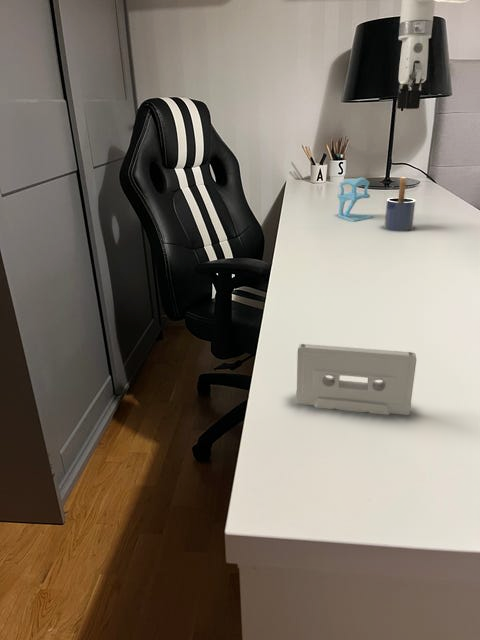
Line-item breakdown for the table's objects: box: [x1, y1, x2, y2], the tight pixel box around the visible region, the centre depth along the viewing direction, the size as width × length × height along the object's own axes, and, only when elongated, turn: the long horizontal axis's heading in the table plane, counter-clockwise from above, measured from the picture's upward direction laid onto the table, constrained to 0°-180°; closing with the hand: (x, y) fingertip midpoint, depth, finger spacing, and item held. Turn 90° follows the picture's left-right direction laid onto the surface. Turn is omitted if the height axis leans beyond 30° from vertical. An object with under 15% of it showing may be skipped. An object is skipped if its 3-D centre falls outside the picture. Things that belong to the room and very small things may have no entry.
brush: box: [397, 176, 407, 202], centre depth 129 cm, size 2×2×13 cm
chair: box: [337, 177, 372, 222], centre depth 144 cm, size 8×8×12 cm
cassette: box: [295, 343, 417, 416], centre depth 53 cm, size 12×2×8 cm, turn 77°
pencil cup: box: [383, 197, 416, 232], centre depth 130 cm, size 7×7×8 cm
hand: (407, 108), depth 127 cm, fingers open, 9 cm apart
